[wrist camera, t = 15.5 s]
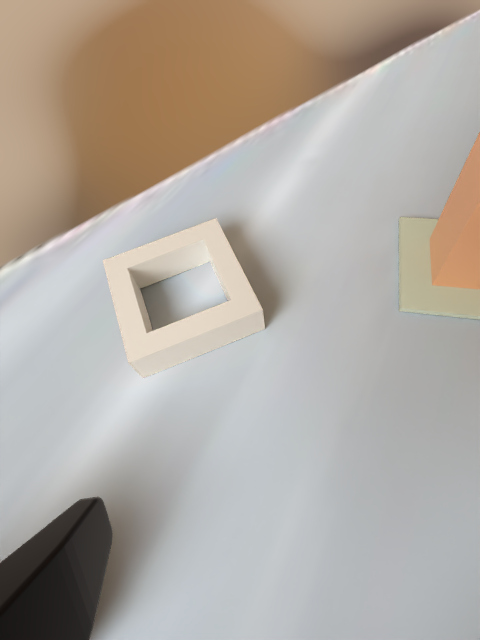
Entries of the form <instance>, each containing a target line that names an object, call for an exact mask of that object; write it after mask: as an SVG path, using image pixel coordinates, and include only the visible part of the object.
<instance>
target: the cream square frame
mask: <svg viewBox="0 0 480 640" xmlns="http://www.w3.org/2000/svg"><path fill="white" fill-rule="evenodd" d="M208 262H210V263H211V265H212V267H213V269H214V272H215V274H216V276H217V278H218V280H219V283H220V285H221V287H222V289H223V291H224V293H225V296H226V298H227V300H228V301H227V302H224V303H222V304H219V305H217V306H214V307H212V308H209V309H207V310H204V311H202V312H199V313H197V314H194V315H192V316H189V317H187V318H184V319H182V320H179V321H176V322H174V323H171V324H169V325H166V326H164V327H161V328H159V329H156V330H154V331H153V329H152V326H151V322H150V319H149V316H148V313H147V309H146V306H145V303H144V299H143V296H142V293H141V290H140V289H141V288H143V287H146V286H148V285H151V284H154V283H156V282H159V281H161V280H164V279H167V278H169V277H172V276H174V275H177V274H180V273H182V272H185V271H187V270H190V269H193V268H195V267H198V266H200V265H203V264H206V263H208ZM103 263H104V267H105V271H106V275H107V279H108V283H109V287H110V291H111V295H112V299H113V303H114V307H115V311H116V315H117V319H118V323H119V327H120V331H121V335H122V339H123V343H124V347H125V351H126V355H127V359H128V363H129V364H130V365H131V366H132V367H133V369H134V370H135V371H136V372H137V373H138V374H139V375H140V376H141V377H142V378H146V377H148V376H151V375H153V374H156V373H158V372H161V371H163V370H166V369H168V368H170V367H173V366H175V365H178V364H180V363H183V362H185V361H188V360H190V359H193V358H195V357H197V356H200V355H202V354H205V353H207V352H210V351H212V350H215V349H217V348H220V347H222V346H225V345H227V344H229V343H232V342H234V341H237V340H239V339H242V338H244V337H247V336H249V335H252V334H254V333H256V332H259V331H261V330H264V329H265V323H264V315H263V309H262V307H261V305H260V303H259V301H258V299H257V297H256V295H255V293H254V291H253V289H252V287H251V285H250V283H249V281H248V279H247V277H246V276H245V274H244V272H243V270H242V268H241V266H240V264H239V262H238V260H237V258H236V256H235V254H234V252H233V250H232V248H231V246H230V244H229V242H228V240H227V238H226V236H225V234H224V232H223V230H222V229H221V227H220V225H219V223H218V221H217V219H216V218H215V219H212V220H210V221H207V222H204V223H202V224H199V225H196V226H194V227H191V228H188V229H186V230H183V231H180V232H178V233H175V234H172V235H170V236H167V237H164V238H162V239H159V240H156V241H154V242H151V243H148V244H146V245H143V246H140V247H138V248H135V249H132V250H129V251H127V252H124V253H121V254H119V255H116V256H113V257H111V258H108V259H105V260H103Z"/></svg>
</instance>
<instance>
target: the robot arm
mask: <svg viewBox="0 0 480 640" xmlns="http://www.w3.org/2000/svg"><path fill="white" fill-rule="evenodd" d="M111 544H112V528H111V524H110V521H109V518H108V515H107V511H106V508H105V505H104V502H103V500H102V499H101V498H99V497H92V498H85V499H81V500H79V501H77V502H76V503H75V504H73V505H72V506H71V507H70V508H68V509H67V510H66V511H65V512H63V513H62V514H61V515H60V516H58V517H57V518H56V519H55V520H53V521H52V522H51V523H50V524H48V525H47V526H46V527H45V528H43V529H42V530H41V531H40V532H38V533H37V534H36V535H35V536H33V537H32V538H31V539H30V540H28V541H27V542H26V543H25V544H23V545H22V546H21V547H20V548H18V549H17V550H16V551H15V552H13V553H12V554H11V555H10V556H8V557H7V558H6V559H5V560H3V561H2V562H1V563H0V640H89V638H90V635H91V631H92V628H93V624H94V620H95V616H96V612H97V608H98V603H99V598H100V594H101V589H102V585H103V580H104V576H105V571H106V567H107V562H108V558H109V553H110V549H111Z"/></svg>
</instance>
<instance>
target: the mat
mask: <svg viewBox="0 0 480 640" xmlns="http://www.w3.org/2000/svg"><path fill="white" fill-rule="evenodd" d="M438 220H439V219H425V218H407V217H400V219H399V311H402V312H412V313H421V314H431V315H440V316H450V317H459V318H469V319H479V320H480V289H469V288H458V287H446V286H435V285H432V274H431V257H430V237H431V235H432V233H433V231H434V228H435V226H436V224H437V222H438Z"/></svg>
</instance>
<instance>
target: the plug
mask: <svg viewBox="0 0 480 640" xmlns="http://www.w3.org/2000/svg"><path fill="white" fill-rule="evenodd" d="M430 257H431V274H432V285H435V286H446V287H458V288H469V289H480V132H479V135H478V137H477V139H476V141H475V143H474V145H473V147H472V149H471V152H470V154H469V156H468V158H467V160H466V162H465V164H464V167H463V169H462V171H461V173H460V175H459V177H458V179H457V181H456V184H455V186H454V188H453V190H452V192H451V194H450V196H449V199H448V201H447V203H446V205H445V207H444V209H443V211H442V214H441V216H440V218H439V220H438V222H437V224H436V226H435V228H434V231H433V233H432V235H431V237H430Z"/></svg>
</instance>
